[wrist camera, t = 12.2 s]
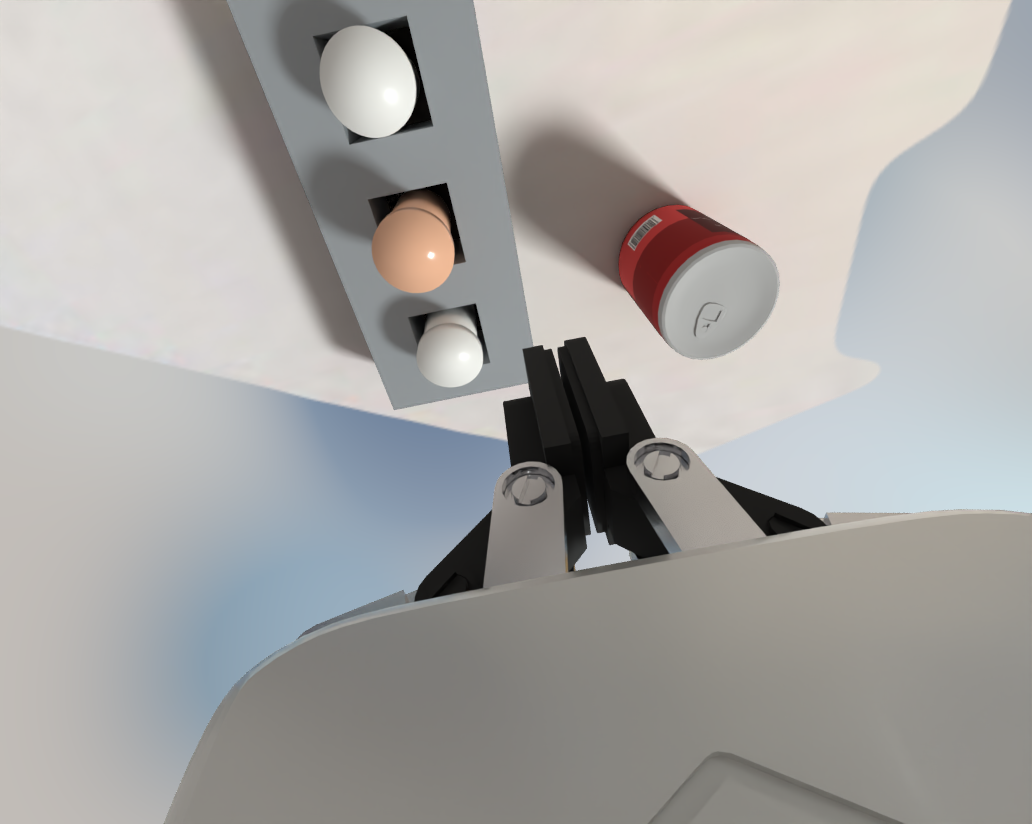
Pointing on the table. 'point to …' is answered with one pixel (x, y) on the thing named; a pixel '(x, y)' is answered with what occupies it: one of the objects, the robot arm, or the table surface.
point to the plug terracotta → (415, 243)
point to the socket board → (400, 178)
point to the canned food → (698, 281)
